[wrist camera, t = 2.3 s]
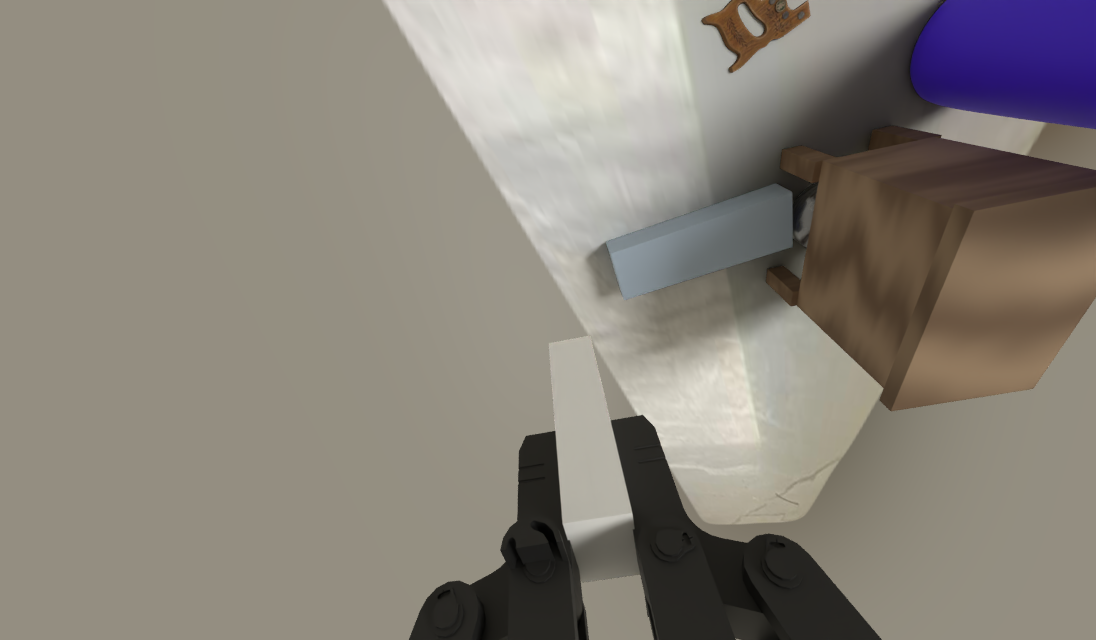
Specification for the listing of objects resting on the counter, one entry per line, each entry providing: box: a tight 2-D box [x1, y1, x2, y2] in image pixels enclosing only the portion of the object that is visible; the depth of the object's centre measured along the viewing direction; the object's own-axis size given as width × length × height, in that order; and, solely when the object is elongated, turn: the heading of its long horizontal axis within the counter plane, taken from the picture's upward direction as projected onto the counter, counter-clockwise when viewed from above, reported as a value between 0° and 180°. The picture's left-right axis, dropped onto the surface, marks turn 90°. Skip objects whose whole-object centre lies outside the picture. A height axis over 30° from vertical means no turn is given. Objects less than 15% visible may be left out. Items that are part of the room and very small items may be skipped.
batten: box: [606, 183, 793, 300], centre depth 35 cm, size 5×15×3 cm, turn 110°
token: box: [792, 182, 819, 248], centre depth 34 cm, size 6×6×2 cm
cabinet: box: [766, 126, 1096, 411], centre depth 28 cm, size 14×8×16 cm, turn 12°
